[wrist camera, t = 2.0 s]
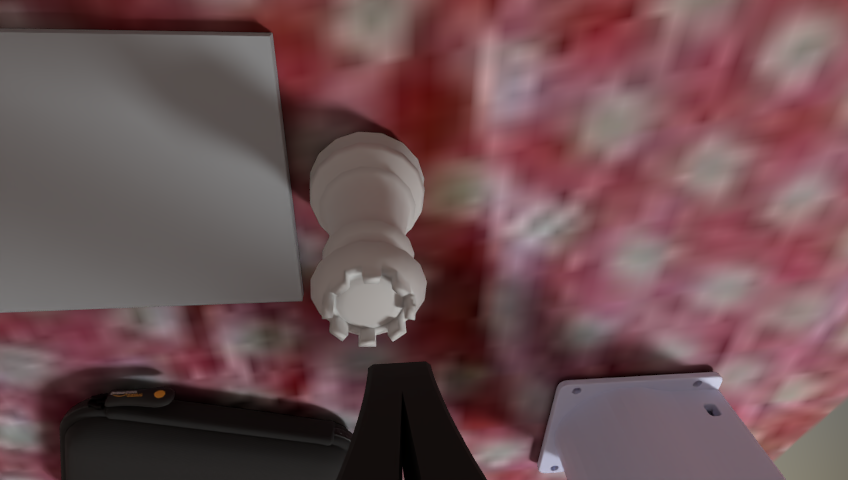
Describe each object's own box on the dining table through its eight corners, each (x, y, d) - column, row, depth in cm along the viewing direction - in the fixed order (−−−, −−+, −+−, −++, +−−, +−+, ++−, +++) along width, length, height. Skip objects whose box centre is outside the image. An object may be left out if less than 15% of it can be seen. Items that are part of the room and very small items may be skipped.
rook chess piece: (301, 216, 21) (271, 360, 14) (322, 113, 18) (299, 224, 12) (405, 237, 22) (424, 381, 15) (437, 143, 19) (476, 260, 13)
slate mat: (272, 32, 17) (269, 36, 16) (303, 292, 23) (302, 301, 22) (-200, 24, 15) (-219, 28, 15) (-35, 304, 21) (-45, 314, 21)
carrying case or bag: (376, 399, 28) (76, 354, 24) (377, 448, 25) (41, 407, 21) (330, 508, 33) (77, 485, 29) (327, 558, 30) (49, 540, 26)
